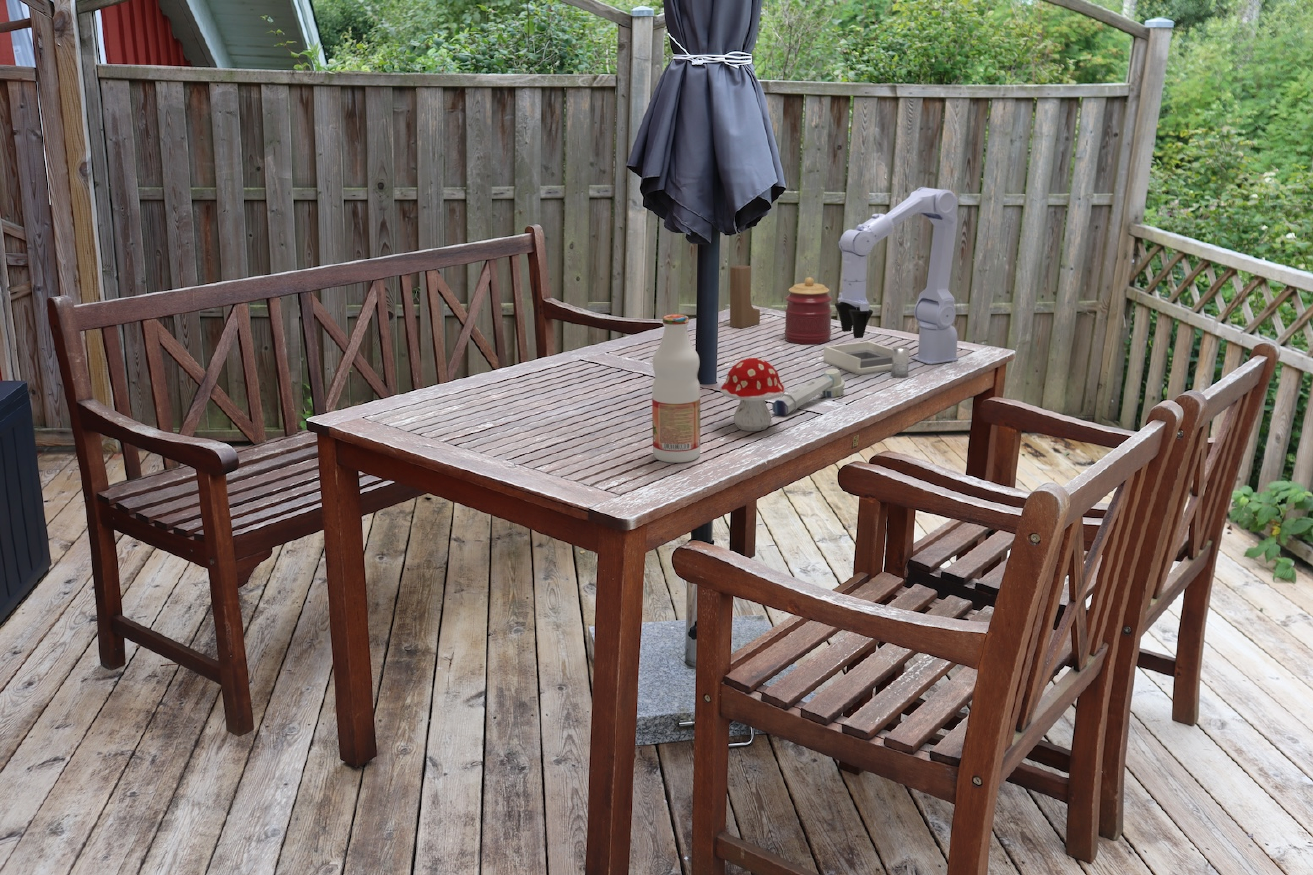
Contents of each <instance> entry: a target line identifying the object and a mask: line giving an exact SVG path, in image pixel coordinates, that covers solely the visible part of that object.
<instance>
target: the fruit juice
mask: <svg viewBox="0 0 1313 875" xmlns="http://www.w3.org/2000/svg"><path fill="white" fill-rule="evenodd" d="M689 321H690V320H689V316H687V315H686V314H678V313H677V314H666V315H664V316H663V317H662V325H663V326H664V328H663V334H662V337H661V341H660V344H659V346H658V347H657V349H656V351H655V352H654V354H653V357H652V365H651V366H652V368H653V372H654V380H653V381H652V382H653V383H652V387H651V388H652V389H651V397H652V398H651V406H652V409H651V411H652V414H651V415H652V420H651V421H652V454H653V456H654V458H655V459H656V460H659V461H660V462H664V463H674V464H675V463H680V464H681V463H687V462H688V463H689V462H692V461H694V460H696V459H697V460H698V458H699V457H700V455H701V384H700V381H699V379H698V374H699V368H700V356H699V354H698V352H697V351H696V349H695V347H694V346H693V343H692V340H691V338H690V335H689V331H688V326H689Z"/></svg>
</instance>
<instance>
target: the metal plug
mask: <svg viewBox="0 0 1313 875" xmlns="http://www.w3.org/2000/svg"><path fill="white" fill-rule="evenodd" d="M892 349H893V351H892V371H890V375H891V377H893V378H897V379H902V378H904V379H905V378H908V376H909V362H910V361H909V357H910V348H909V347H908V346H903V345H899V346H898V345H897V346H893V347H892Z"/></svg>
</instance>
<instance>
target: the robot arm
mask: <svg viewBox="0 0 1313 875" xmlns="http://www.w3.org/2000/svg"><path fill="white" fill-rule="evenodd" d="M909 194H910V195H909V196H908V197H906V199H904V200H903V201H902V202H900V203H899V204H897V205H896V206H895V207H894V208H892V209H891V210H890V211H889V212H887V213H886V214H884V213H873V214H872V215H871V218H869V219H868V220H866V221H864V222H863V223H862V224H861V223H859V224H858V225H856V227H855V229H850V228H849V229H847V230H845V232H843V234H842V235H841V237H840V238H839V239H840V240H839V241H838V247H839V250H840V251H841V258H842V259H843V260H842V263H843V264H842V288H841V289H842V291H841V292H839V293H838V297H837V302H836V303H834V306H835V309H836V311H837V313H838V317H839V321H840V327H841V330H842V332H844V333H847V332H852V334H853V338H854V339H862V338H864V336H865V332H866V328H867V325H868V323H869V320H870V318H871V317H872V315H873V313H874V310H872V309H870V302H869V301H868V298H867V296H866V295H867V275H868V274H867V273H868V272H867V271H868V255H869V254H870V253H871V251H872V250H873V248H874V246H875V245H876V244H878V242H880V241H882V240H883V239H885V238H886V237H888V236H890V235H891V234H892V232H893V229H894V227H895V226H897V225H898V224H900V223H902V222H903V221H905V220H907V219H909V218H910V217H912V216H914V215H916V214H918V213H919V214H920V215H922V216H924V217H926V218H927V219H928V220H929V221H930V223H931V224H932V225H933V226H934V227H933V228H934V229H933V235H932V243H931V250H930V258H929V265H928V274H927V281H926V287H925V288H924V289H923V290H922V291H921V292H920V293H919V294H918V298H917V302H916V304H914V305H915V306H914V309H913V315H914V318H915V320H916V321H917V325H918V326H919V329H918V330H919V332H918V333H919V334H918V347H917V348H918V349H917V355H913V356H910V359H912V360H914V361H918V362H920V363H924V364H927V365H935V364H936V365H937V364H941V363H951V362H957V361H959V358H957V351H958V332H957V329H956V328H955V327H954V326H953V324H954V322H955V320H956V315H957V314H956V313H957V311H956V307H955V305H956V304H955V301H956V299H955V297H954V295H953V294H952V293H951V292H950V291H949V287H950V286H949V285H950V280H951V272H952V265H953V259H954V258H953V257H954V252H955V251H954V250H955V243H956V235H957V231H958V230H957V229H958V222H959V218H958V213H957V210H958V202H959V198H958V197H957V196H956V194H954V192H953V191H952V190H950V189H938V188H932V187H931V188H930V187H926V186H922V187H918V188H917V189H916V190H914V191H911V193H909Z"/></svg>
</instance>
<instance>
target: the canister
mask: <svg viewBox="0 0 1313 875" xmlns="http://www.w3.org/2000/svg"><path fill="white" fill-rule="evenodd" d="M788 292H789V294H788V295H787V296H785V298H784V299H785V301H786V308H785V309H784V311H785V324H784V325H785V326H784V327H785V328H784V329H785V330H784V337H785V340H786V342H790V343H795V344H800V345H801V344H802V345H818V344H825V343H827V342H829V341H830V340H831V336H832V329H831V328H832V312H833V310H832V308H831V302H833V297H832V296H831V295H829V292H830V289H829V288H828V287H826V286H825V284H822V283H815V280H814V278H813V277H812V276H811V277H810V276H808V277H806V278H805V279H804V282H803V283H802V282H801V283H795V284H793V286H792V287H790V288H789V289H788Z"/></svg>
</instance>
